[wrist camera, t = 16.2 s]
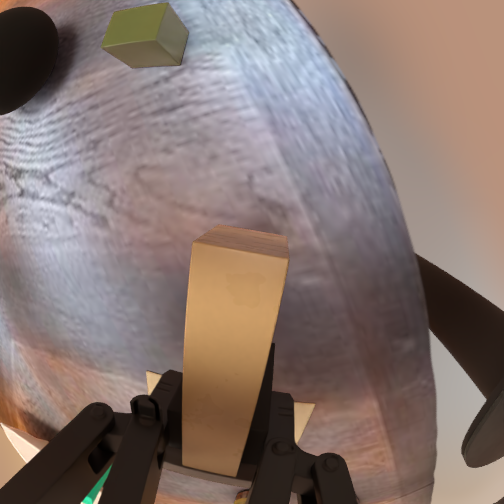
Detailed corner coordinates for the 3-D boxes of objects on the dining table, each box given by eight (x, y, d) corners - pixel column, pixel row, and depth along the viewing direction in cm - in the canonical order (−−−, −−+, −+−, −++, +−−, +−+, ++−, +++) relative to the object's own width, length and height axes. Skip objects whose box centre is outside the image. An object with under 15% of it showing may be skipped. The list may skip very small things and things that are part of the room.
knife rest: (189, 32, 15) (168, 1, 11) (180, 65, 16) (155, 39, 11) (141, 36, 15) (113, 11, 11) (131, 68, 16) (99, 48, 12)
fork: (211, 207, 14) (139, 232, 7) (312, 225, 14) (346, 270, 6) (190, 446, 19) (165, 516, 12) (251, 459, 19) (239, 533, 11)
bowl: (139, 506, 33) (131, 526, 28) (49, 463, 35) (38, 478, 29) (111, 455, 28) (96, 482, 22) (8, 397, 29) (-9, 414, 24)
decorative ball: (56, 122, 17) (-35, 112, 8) (3, 118, 17) (-67, 115, 8) (96, 20, 15) (26, -24, 5) (34, 33, 15) (-27, 11, 5)
